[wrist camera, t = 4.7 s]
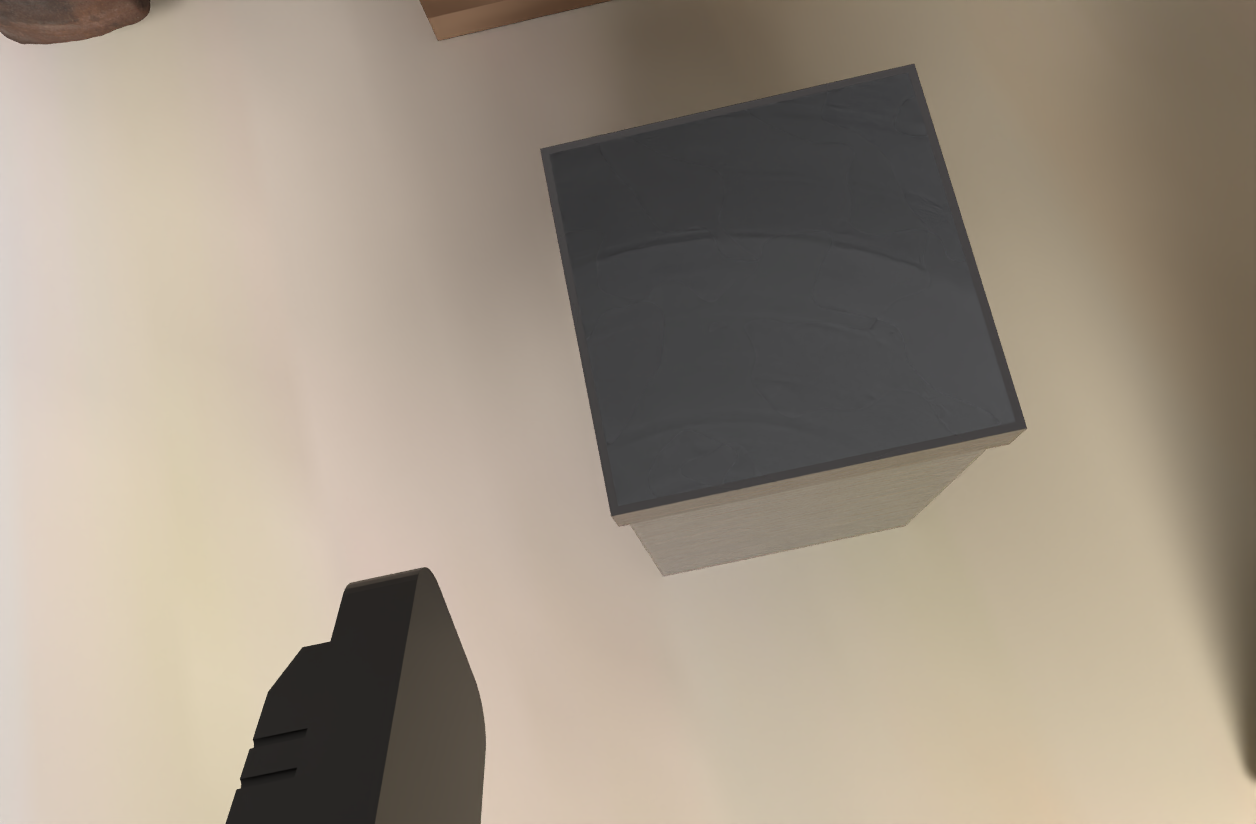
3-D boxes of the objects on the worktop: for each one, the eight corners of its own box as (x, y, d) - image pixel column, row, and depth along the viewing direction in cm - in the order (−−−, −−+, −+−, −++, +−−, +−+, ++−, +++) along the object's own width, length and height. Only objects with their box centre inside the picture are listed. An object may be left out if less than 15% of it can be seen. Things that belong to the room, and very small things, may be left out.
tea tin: (659, 582, 20) (611, 515, 12) (611, 345, 21) (540, 149, 13) (911, 530, 20) (1026, 428, 12) (847, 294, 21) (913, 63, 13)
